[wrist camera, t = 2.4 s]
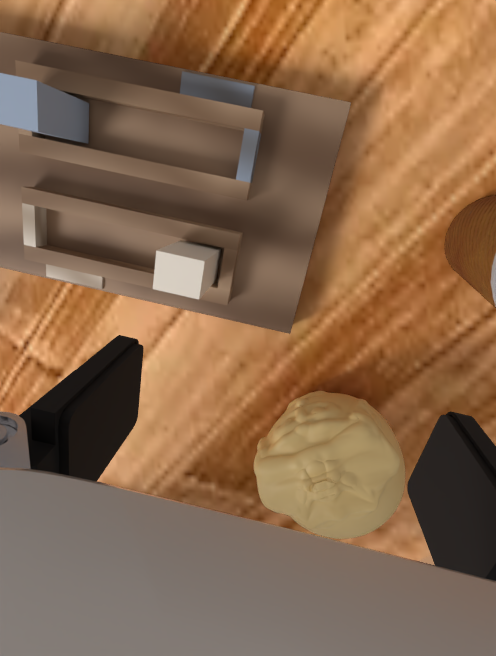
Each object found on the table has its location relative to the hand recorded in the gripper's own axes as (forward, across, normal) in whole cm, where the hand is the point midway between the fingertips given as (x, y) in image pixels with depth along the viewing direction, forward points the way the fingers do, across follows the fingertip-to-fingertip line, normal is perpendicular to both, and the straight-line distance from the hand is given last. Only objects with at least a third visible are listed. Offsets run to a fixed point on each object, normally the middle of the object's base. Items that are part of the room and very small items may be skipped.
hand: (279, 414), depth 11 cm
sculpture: (+21, -7, +14) cm, 26 cm away
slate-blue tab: (+18, +18, -8) cm, 27 cm away
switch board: (+20, +13, -4) cm, 24 cm away
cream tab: (+18, +7, 0) cm, 20 cm away
